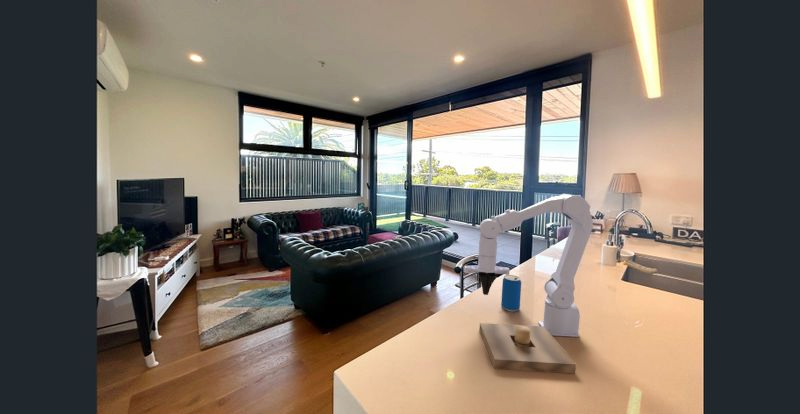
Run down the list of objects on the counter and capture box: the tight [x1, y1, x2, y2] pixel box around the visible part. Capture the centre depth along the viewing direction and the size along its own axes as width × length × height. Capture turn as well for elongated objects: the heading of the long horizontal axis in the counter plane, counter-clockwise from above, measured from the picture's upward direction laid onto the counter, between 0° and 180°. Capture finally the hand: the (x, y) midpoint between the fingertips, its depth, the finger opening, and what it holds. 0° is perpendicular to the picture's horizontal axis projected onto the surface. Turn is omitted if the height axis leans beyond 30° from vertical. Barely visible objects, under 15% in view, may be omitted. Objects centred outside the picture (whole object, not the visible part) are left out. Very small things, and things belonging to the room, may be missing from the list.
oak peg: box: [514, 326, 530, 347], centre depth 80 cm, size 4×4×6 cm
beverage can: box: [501, 274, 522, 312], centre depth 105 cm, size 6×6×12 cm
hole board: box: [478, 322, 577, 375], centre depth 80 cm, size 20×18×2 cm
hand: (485, 293), depth 95 cm, fingers closed
